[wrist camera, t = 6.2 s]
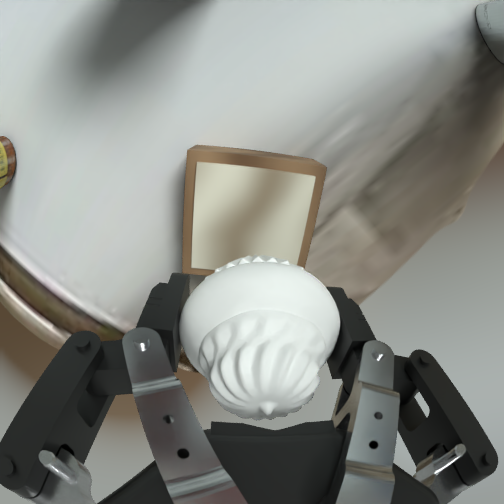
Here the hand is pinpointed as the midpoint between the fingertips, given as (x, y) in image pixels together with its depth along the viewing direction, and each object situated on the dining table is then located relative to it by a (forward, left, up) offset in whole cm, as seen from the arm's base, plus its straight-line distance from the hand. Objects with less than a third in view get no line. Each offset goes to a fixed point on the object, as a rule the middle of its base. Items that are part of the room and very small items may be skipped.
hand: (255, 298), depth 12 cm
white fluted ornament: (0, 0, -1) cm, 1 cm away
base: (0, 0, -13) cm, 13 cm away
